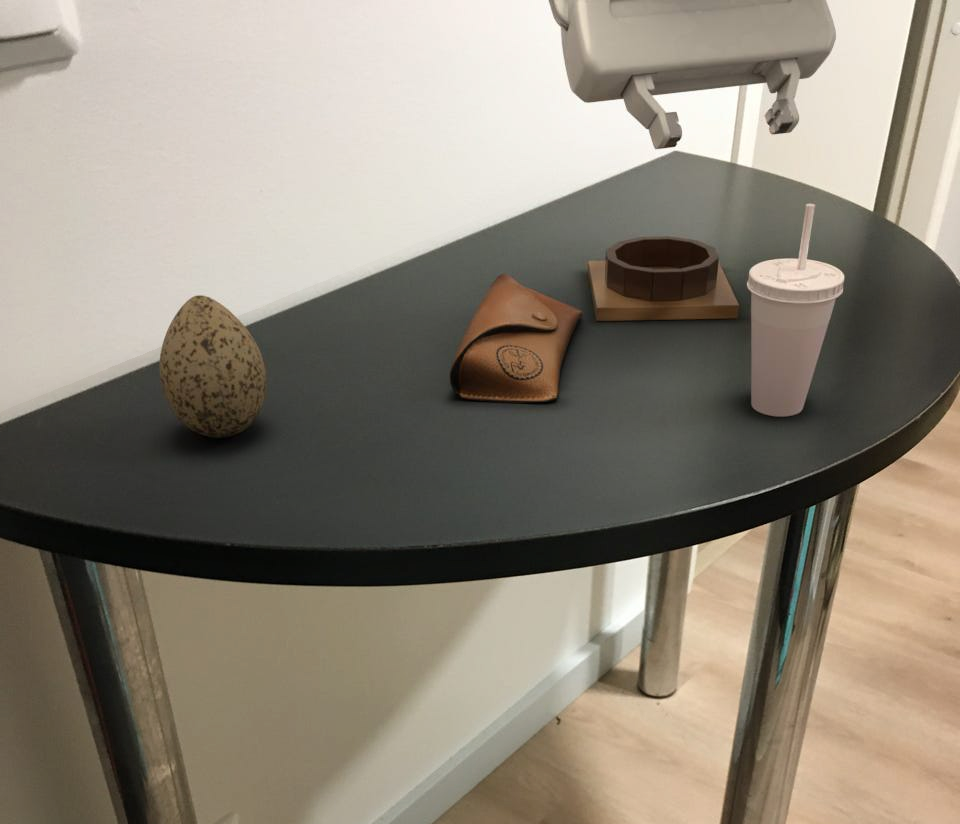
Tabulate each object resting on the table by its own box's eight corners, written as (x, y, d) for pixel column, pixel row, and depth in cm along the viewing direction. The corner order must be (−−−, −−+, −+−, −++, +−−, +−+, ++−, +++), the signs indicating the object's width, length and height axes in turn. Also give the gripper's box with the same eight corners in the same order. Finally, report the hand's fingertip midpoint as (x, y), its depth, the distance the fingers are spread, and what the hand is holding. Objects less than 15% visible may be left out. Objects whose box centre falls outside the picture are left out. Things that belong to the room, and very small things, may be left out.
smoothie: (838, 402, 81) (875, 203, 72) (794, 433, 77) (827, 228, 69) (760, 379, 84) (787, 187, 76) (715, 408, 80) (737, 209, 72)
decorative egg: (230, 465, 75) (204, 323, 69) (152, 443, 78) (120, 305, 72) (294, 423, 80) (275, 287, 74) (217, 404, 83) (193, 272, 77)
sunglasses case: (563, 398, 81) (516, 321, 78) (483, 438, 84) (435, 365, 81) (585, 309, 95) (546, 241, 92) (516, 347, 98) (476, 281, 95)
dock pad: (715, 270, 104) (720, 230, 101) (737, 318, 94) (742, 275, 92) (587, 273, 104) (589, 233, 102) (596, 321, 94) (597, 278, 92)
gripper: (554, -63, 74) (611, 124, 73) (815, -81, 80) (873, 93, 78) (528, 4, 80) (580, 179, 79) (773, -17, 86) (826, 146, 84)
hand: (728, 136), depth 79 cm, fingers open, 8 cm apart
